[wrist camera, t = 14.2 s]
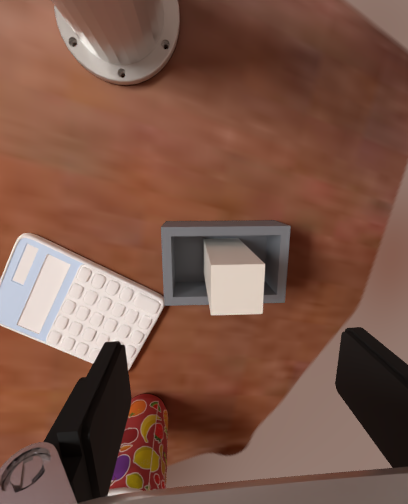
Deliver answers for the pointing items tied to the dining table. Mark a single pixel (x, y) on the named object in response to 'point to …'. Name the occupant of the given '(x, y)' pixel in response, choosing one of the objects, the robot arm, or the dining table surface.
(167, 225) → the grey open box
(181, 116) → the dining table surface
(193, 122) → the dining table surface
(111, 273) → the calculator
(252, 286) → the post
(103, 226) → the dining table surface
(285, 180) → the dining table surface
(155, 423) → the smoothie
